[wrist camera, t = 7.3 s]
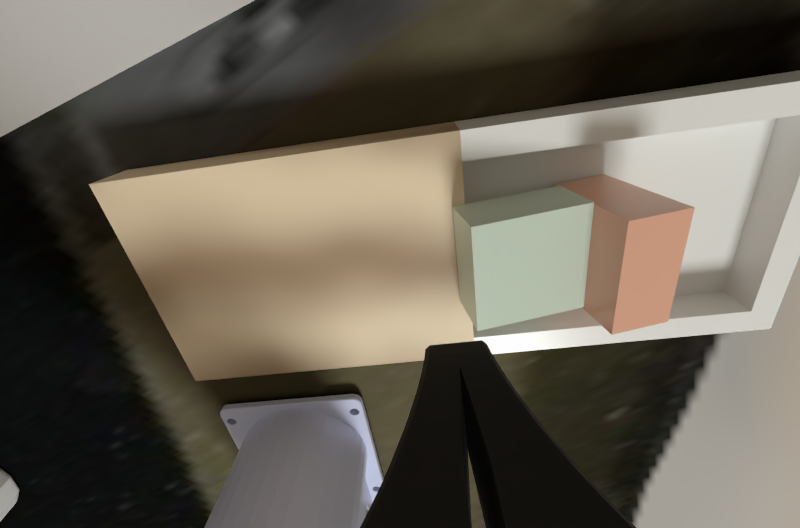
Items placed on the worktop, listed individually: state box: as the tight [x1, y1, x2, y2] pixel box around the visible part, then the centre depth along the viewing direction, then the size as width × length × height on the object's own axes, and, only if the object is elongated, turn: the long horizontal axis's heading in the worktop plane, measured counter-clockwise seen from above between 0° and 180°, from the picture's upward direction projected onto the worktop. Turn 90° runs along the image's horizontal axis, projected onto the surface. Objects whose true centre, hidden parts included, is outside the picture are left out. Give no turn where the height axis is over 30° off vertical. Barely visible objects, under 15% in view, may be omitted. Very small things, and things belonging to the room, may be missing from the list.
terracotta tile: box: [553, 174, 695, 335], centre depth 13 cm, size 4×4×2 cm
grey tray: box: [454, 70, 800, 354], centre depth 15 cm, size 10×12×2 cm
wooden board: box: [89, 122, 474, 381], centre depth 16 cm, size 10×13×2 cm
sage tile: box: [452, 186, 594, 331], centre depth 13 cm, size 4×4×2 cm
